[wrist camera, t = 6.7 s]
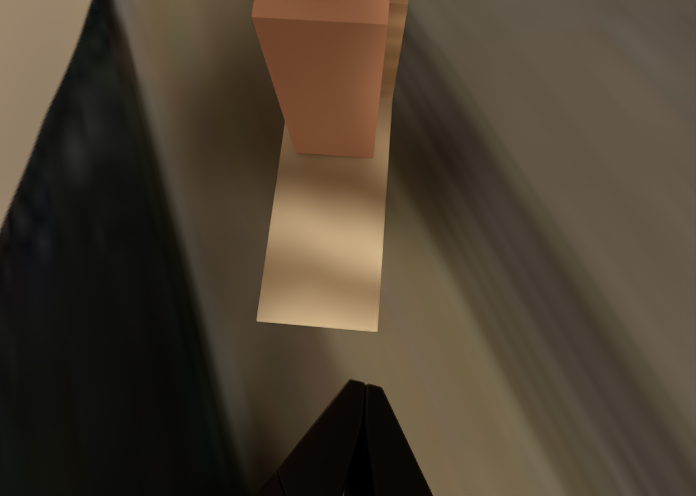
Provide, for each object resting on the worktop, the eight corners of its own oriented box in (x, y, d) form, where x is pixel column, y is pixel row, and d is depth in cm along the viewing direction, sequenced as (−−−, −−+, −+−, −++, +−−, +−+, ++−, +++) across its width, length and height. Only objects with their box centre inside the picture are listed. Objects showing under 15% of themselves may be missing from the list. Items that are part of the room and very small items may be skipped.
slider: (373, 158, 22) (394, -39, 11) (295, 152, 23) (230, -47, 11) (377, 97, 23) (401, -145, 12) (303, 92, 24) (252, -151, 12)
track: (375, 331, 21) (389, 331, 13) (261, 321, 21) (207, 315, 14) (391, 91, 25) (409, -21, 17) (294, 85, 25) (267, -29, 17)
